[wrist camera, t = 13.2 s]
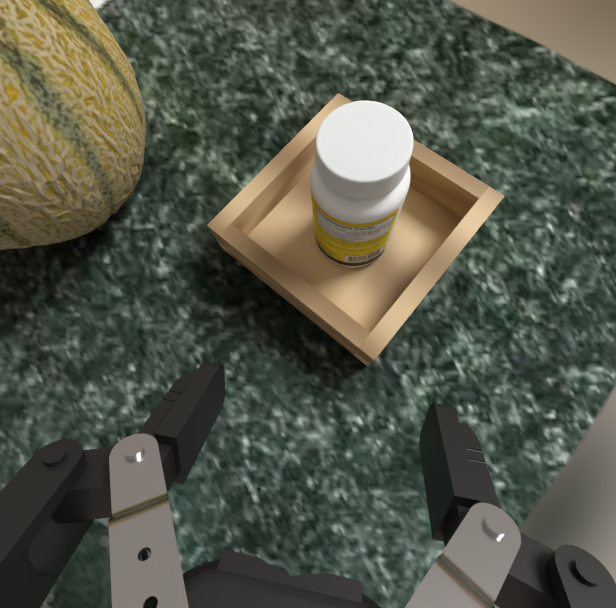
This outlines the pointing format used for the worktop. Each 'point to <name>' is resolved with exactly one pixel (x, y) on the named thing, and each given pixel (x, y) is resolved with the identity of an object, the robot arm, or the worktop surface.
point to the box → (344, 280)
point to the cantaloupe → (64, 122)
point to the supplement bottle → (359, 181)
